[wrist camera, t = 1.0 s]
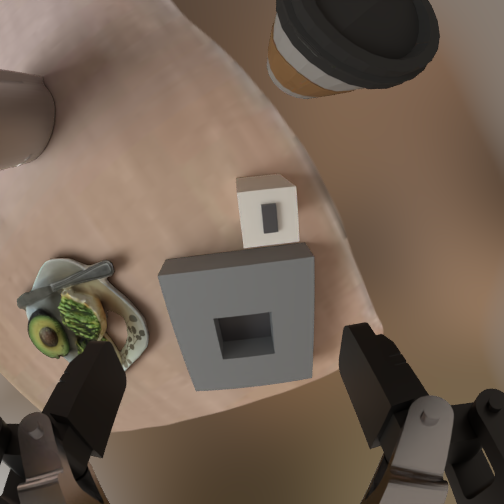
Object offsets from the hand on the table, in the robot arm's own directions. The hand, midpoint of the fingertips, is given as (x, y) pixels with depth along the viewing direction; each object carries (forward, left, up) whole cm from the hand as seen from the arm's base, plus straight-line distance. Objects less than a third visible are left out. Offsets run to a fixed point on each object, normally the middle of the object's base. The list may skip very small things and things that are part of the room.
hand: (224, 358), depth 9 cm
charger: (-1, +3, -19) cm, 19 cm away
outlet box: (+12, 0, -19) cm, 22 cm away
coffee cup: (-13, +8, -19) cm, 24 cm away
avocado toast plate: (+11, -21, -19) cm, 31 cm away
